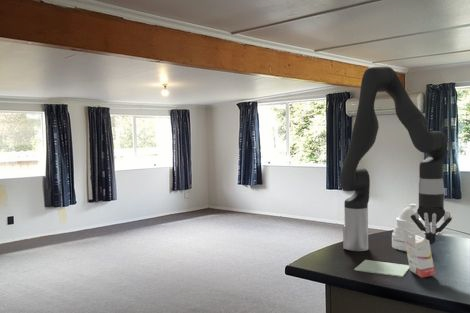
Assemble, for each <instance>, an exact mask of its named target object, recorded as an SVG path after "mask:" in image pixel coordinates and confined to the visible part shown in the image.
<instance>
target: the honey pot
mask: <svg viewBox="0 0 470 313" xmlns="http://www.w3.org/2000/svg"><path fill="white" fill-rule="evenodd" d="M417 207H418V206H417V203H410V204H409V206H407V207H405V208H403V209H402V211H401V212H400V214H399V215H398V216H399V217H396V218H395V220H396V223H395V225H394V228H393V231H392V233H391V247H392V248H393V249H395V250H397V249H398V250H399V251H404V252H407V251H406V245H405V239H404V229H405V230H407V231H409V232H411V233H413V234H415V235H418V236H420V237H422V238H425V239H426V233H425V231H421V230H420V229H419V227H418V226H417V225H416V224H415V222H414V221H413V220H412V219H411V215H412V214H415V213H416V212H415V209H416V208H417ZM419 220H420V221H421V223H423V220H422V218H421V217H419ZM408 236H409V237H410V236H411V235H410V234H408Z"/></svg>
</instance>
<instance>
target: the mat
mask: <svg viewBox="0 0 470 313" xmlns="http://www.w3.org/2000/svg"><path fill="white" fill-rule="evenodd" d="M354 271H357V272H364V273H372V274H378V275H385V276H393V277H400V278H404V276H405V275H406V274H407V272H408V271H410V268H409V264H403V263H402V264H400V263H394V262H384V261H378V260H370V259H364V260H363V261H362V262H361V263H360V264H359V265H357V266H356V267H355V268H354Z"/></svg>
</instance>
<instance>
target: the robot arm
mask: <svg viewBox="0 0 470 313" xmlns="http://www.w3.org/2000/svg"><path fill="white" fill-rule="evenodd" d="M384 92H385V93H386V94H388V96H390V97H391V99H392V101H393V102H394V110H395V114H396V117H397V118H398V121H399V122H400V123H401V124H402V125H403V127H404V128H405V129H406V130H407V133H408V135H409V138H410V141H411V143H412V144H413V146H414V148H415V149H416V150H418V151H419V152H421V153H423V154H426V158H425V159H423V160H422V161H420V163H419V168H418V169H419V175H418V177H419V178H418V208H417V210H416V212H415V214H412V215H411V219H412V220H413V221H414V222H415V224H416V225H417V226H418V227H419V229H420V230H421V231H424V233H425V239H427V240H429V242H430V246H431V245H432V246H433V245H434V244H436V241H437V233H441V232H442V231H443V230H444V229H445V228H446V227H447V226H448V225H449V224H450V222H452V220H453V217H452V216H449V215H448V214H447V213H446V210H445V208H444V207H445V206H444V203H445V202H444V201H445V200H444V197H445V196H444V194H445V193H444V192H445V188H444V179H443V178H444V177H443V176H444V175H443V174H444V171H443V165H444V162H445V160H446V159H445V158H446V155H447V152H448V151H447V150H448V138H447V136H446V134H445V133H444V132H443V131H440V130H428V129H427V126H428V123H429V121H428V119H427V118H426V116H425V115H424V114H423V113H422V112H421V110H420V109H419V108H418V107H417V105H416V104H415V103H414V102H413V100H412V99H411V97H410V95H409V94H408V92H407V91H406V89H405V87H404V85H403V83H402V81H401V79H400V78H399V76H398V74H397V73H396V71H395V70H394V69H393V68H392V67H390V66H386V65H385V66H382V65H381V66H369V67H368V68H367V69H365V70H364V72H363V75H362V78H361V84H360V92H359V98H358V99H359V100H358V106H357V109H356V110H357V111H356V115H355V119H354V123H353V126H352V132H351V136H350V142H349V144H348V149H347V152H346V156H345V159H344V162H343V165H342V169H341V171H340V176H339V186H340V188H341V189H342V191H345V192H354V193H353V195H351V196H350V197H347V198H346V199H345V200H344V204H343V205H344V225H343V226H342V241H343V242H342V244H343V246H342V247H343V248H342V249H343V250H347V251H352V252H365V251H368V250H369V210H368V209H369V208H368V207H369V202H370V186H371V184H370V183H371V182H370V181H371V178H370V174H369V171H368V170H367V168H364V167H358V165H359V163H361V162H360V161H361V160H362V159H363V157H364V156H366V154H367V153H368V152H369V151H370V150H371V149H372V147H373V146H374V145H375V142H376V139H377V136H378V132H379V128H380V127H379V126H380V125H379V120H378V117H377V114H376V110H375V101H376V97H377V94H378V93H384ZM419 218H421V219H422V222H421V221H420V220H419ZM441 220H443V222H442V223H441V224H440V225H439V227H438V223H439V222H440V221H441ZM423 222H424V224H423Z"/></svg>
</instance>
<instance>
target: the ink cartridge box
mask: <svg viewBox="0 0 470 313" xmlns="http://www.w3.org/2000/svg"><path fill="white" fill-rule="evenodd" d="M408 234H410V235H411V236H410V237H409V236H408ZM404 239H405V245H406V251H405V252H406V257H407V261H408V265H409V271H410V272H412V273H414V274H415V275H416V276H418V277H420V278H421V279H422V278H428V277H432V276H436V272H435V266H434V259H433V254H432V248H431V244H430V242H429V240H427V239H426V237H425V238H422V237H420V236H418V235H415V234H413V233H411V232H409V231H407V230H405V229H404Z"/></svg>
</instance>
